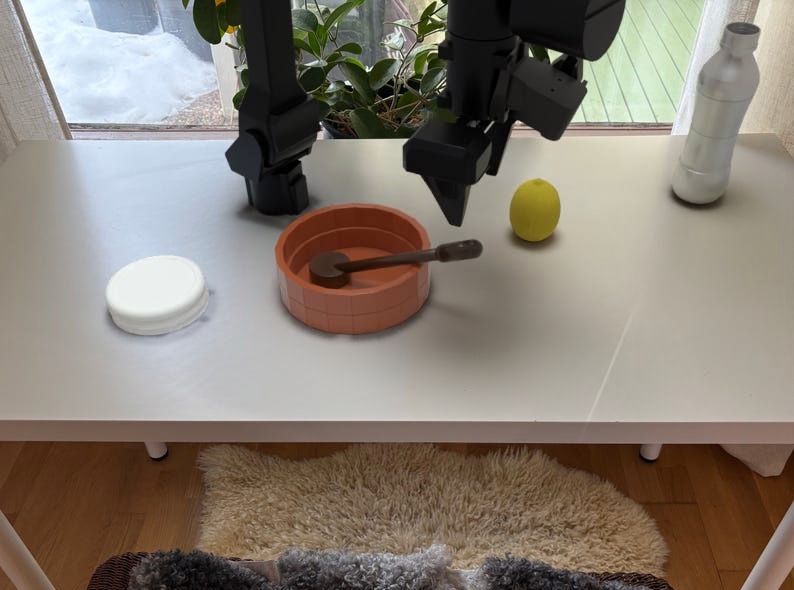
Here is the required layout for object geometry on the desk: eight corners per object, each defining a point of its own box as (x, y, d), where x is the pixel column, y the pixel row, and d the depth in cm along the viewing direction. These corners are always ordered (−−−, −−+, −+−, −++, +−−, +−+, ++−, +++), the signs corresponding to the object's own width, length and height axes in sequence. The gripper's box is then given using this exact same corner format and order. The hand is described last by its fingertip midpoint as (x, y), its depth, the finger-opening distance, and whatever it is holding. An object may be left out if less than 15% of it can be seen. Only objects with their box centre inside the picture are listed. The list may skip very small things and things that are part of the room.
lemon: (554, 258, 86) (563, 195, 80) (504, 253, 86) (509, 190, 81) (557, 229, 89) (566, 168, 84) (509, 225, 90) (515, 163, 85)
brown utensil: (302, 283, 82) (292, 206, 75) (323, 260, 85) (315, 184, 78) (468, 334, 76) (474, 256, 69) (484, 308, 79) (491, 230, 72)
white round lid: (211, 273, 85) (204, 247, 82) (210, 333, 78) (203, 307, 75) (117, 285, 84) (108, 258, 81) (108, 347, 77) (98, 320, 74)
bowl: (253, 314, 80) (244, 269, 76) (328, 234, 90) (323, 190, 86) (389, 358, 75) (387, 312, 71) (452, 267, 85) (454, 223, 81)
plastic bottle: (729, 190, 95) (783, 23, 81) (713, 217, 91) (766, 46, 77) (677, 175, 97) (721, 11, 83) (659, 201, 93) (701, 33, 79)
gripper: (548, 94, 52) (526, 278, 63) (614, 0, 64) (586, 168, 75) (397, 67, 55) (401, 246, 66) (487, -17, 67) (478, 146, 78)
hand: (474, 199), depth 71 cm, fingers open, 9 cm apart
